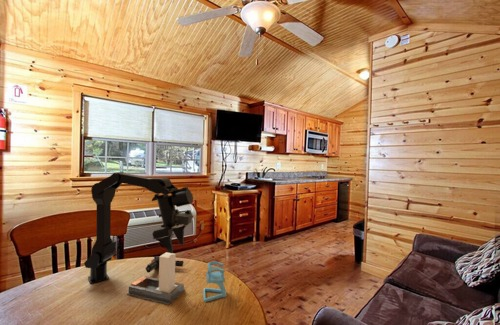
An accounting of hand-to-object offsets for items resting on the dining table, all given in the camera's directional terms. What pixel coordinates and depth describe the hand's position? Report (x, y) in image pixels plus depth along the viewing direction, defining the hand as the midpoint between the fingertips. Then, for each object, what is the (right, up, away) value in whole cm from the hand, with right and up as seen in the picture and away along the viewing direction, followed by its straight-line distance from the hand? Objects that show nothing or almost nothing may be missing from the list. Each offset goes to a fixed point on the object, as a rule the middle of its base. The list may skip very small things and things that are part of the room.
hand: (177, 248), depth 93 cm
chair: (+15, -16, -4) cm, 23 cm away
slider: (-2, -15, -5) cm, 16 cm away
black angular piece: (-9, -15, +17) cm, 24 cm away
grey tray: (-7, -15, -4) cm, 17 cm away
